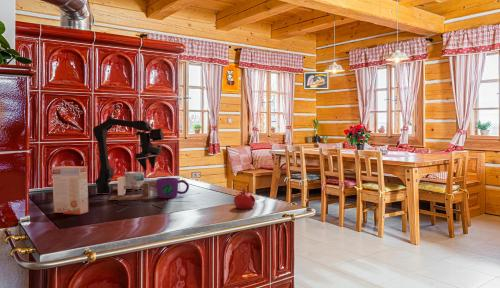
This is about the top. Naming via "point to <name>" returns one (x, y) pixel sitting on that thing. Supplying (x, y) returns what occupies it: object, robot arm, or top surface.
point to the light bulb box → (134, 178)
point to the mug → (169, 187)
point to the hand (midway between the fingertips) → (149, 169)
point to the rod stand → (133, 197)
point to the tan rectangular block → (121, 186)
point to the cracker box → (70, 189)
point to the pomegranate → (244, 200)
